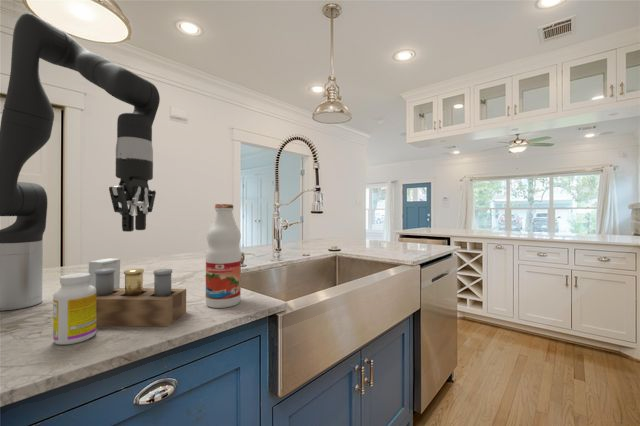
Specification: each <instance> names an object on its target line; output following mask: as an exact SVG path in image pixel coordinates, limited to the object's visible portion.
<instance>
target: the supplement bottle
mask: <svg viewBox="0 0 640 426" xmlns="http://www.w3.org/2000/svg"><path fill="white" fill-rule="evenodd" d="M89 281H90V274H89V272H77V273H69V274H64V275H61V276H60V277H59V284H60V286H61V287H60V288H59V289H57V290H55V291H54V293H53V295H52V296H53V297H52V301H53V302H52V309H53V310H52V311H53V312H52V314H53V315H52V326H53V327H52V337H53V338H52V339H53V343H54V344H55V345H59V346H60V345H62V346H63V345H65V346H66V345H73V344H78V343H82V342H85V341H87V340H89V339H91V338H92V337H94V336H95V335H96V333H97V325H96V288H95V287H94V286H92V285H89Z"/></svg>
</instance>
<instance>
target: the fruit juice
mask: <svg viewBox="0 0 640 426" xmlns="http://www.w3.org/2000/svg"><path fill="white" fill-rule="evenodd" d="M214 208H215V209H214V210H215V214H214V217H213V220H212V221H211V222H212V223H211V225H210V227H209V229H208V230H207V233H206V242H207V245H208V247H207V250H206V254H205V304H206V306H207V307H209V308H213V309H224V308H230V307H234V306H237V305H238V304H239V303H240V301H241V295H242V294H241V290H242V287H241V285H242V284H241V283H242V277H241V276H242V275H241V273H242V270H241V269H242V252H241V248H240V241H241V230H240V229H239V228H238V226H237V223H236V220H235V217H234V214H233V210H234V204H233V203H231V204H230V203H229V204H228V203H227V204H226V203H225V204H224V203H221V204H220V203H216V204H214Z"/></svg>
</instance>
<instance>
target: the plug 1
mask: <svg viewBox="0 0 640 426" xmlns="http://www.w3.org/2000/svg"><path fill="white" fill-rule="evenodd" d="M114 272H115V268H105V269H98V270H95V274H96V296H108V295H111V294H113V293H114Z"/></svg>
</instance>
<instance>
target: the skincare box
mask: <svg viewBox="0 0 640 426" xmlns="http://www.w3.org/2000/svg"><path fill="white" fill-rule="evenodd" d="M105 268H115V272H114V288H121V287H120V284H121V282H120V280H121V277H120V276H121V259H120V258H111V257H110V258H103V259H96V260H93V261H88V273H89V274H90V281H89V285H92V286H94V287H95V288H96V274H95V270H98V269H105Z"/></svg>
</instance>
